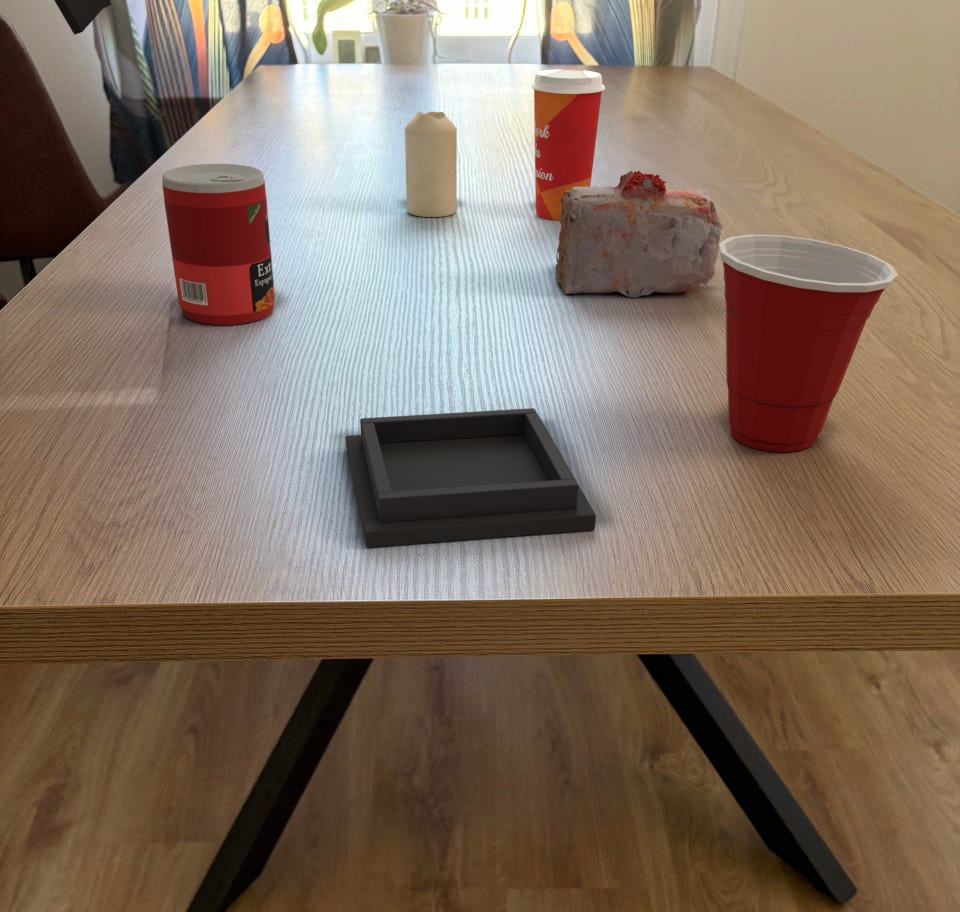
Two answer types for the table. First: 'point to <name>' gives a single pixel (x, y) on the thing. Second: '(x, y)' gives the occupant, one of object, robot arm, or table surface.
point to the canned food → (220, 242)
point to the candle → (431, 165)
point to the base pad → (462, 478)
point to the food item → (637, 238)
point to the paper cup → (564, 134)
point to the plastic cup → (792, 332)
